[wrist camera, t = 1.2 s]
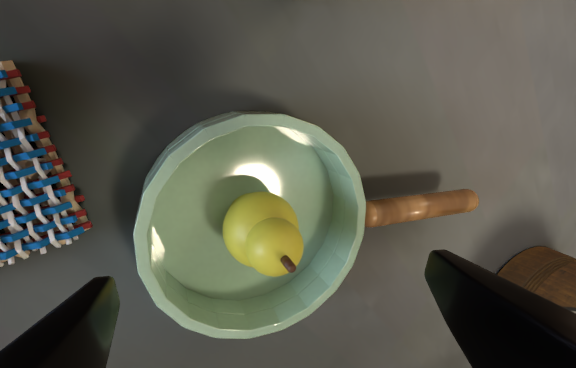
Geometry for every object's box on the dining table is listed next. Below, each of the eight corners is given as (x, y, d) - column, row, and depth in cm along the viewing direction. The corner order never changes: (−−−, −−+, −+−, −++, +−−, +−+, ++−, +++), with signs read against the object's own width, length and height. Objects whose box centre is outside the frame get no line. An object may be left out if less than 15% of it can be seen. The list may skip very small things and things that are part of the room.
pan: (331, 282, 29) (358, 310, 25) (150, 322, 23) (149, 366, 20) (341, 110, 25) (374, 113, 21) (125, 111, 19) (118, 115, 16)
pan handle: (462, 206, 29) (482, 213, 28) (349, 223, 25) (364, 233, 23) (465, 185, 29) (486, 191, 27) (351, 199, 25) (366, 207, 23)
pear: (282, 242, 25) (333, 302, 18) (217, 252, 23) (246, 324, 16) (282, 180, 24) (338, 217, 17) (214, 186, 22) (243, 231, 15)
